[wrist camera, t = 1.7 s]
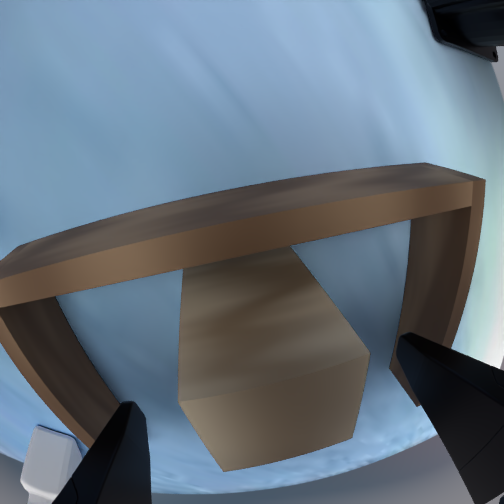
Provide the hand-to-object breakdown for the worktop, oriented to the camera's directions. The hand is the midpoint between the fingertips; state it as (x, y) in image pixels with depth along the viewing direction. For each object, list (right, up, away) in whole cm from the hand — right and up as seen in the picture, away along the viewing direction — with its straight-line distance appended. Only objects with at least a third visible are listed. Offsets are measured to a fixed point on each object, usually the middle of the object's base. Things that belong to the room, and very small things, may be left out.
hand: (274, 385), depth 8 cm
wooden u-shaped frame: (-1, 0, +6) cm, 6 cm away
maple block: (-1, +2, +5) cm, 5 cm away
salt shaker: (-17, -12, +8) cm, 22 cm away
